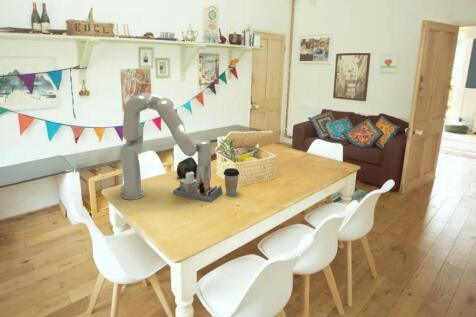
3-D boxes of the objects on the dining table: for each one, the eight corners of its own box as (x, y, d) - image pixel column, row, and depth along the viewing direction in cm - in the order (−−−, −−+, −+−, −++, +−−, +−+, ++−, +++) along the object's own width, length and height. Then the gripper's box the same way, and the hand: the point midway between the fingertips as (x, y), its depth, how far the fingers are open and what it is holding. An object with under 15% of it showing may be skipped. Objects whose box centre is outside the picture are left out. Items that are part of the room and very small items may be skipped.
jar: (197, 194, 189) (197, 180, 186) (202, 191, 194) (202, 177, 191) (206, 196, 187) (206, 182, 184) (210, 193, 192) (210, 179, 189)
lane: (173, 194, 191) (172, 186, 189) (186, 186, 203) (185, 178, 202) (211, 202, 181) (211, 194, 180) (222, 193, 193) (222, 185, 192)
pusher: (206, 200, 184) (206, 192, 182) (215, 193, 194) (215, 185, 192) (208, 200, 184) (208, 192, 182) (216, 193, 193) (217, 185, 192)
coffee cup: (229, 198, 187) (229, 174, 183) (220, 192, 194) (220, 169, 190) (242, 194, 192) (242, 171, 188) (233, 189, 200) (233, 166, 195)
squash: (169, 169, 216) (179, 156, 208) (185, 164, 228) (195, 152, 220) (180, 186, 213) (191, 173, 204) (196, 180, 225) (207, 168, 216)
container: (180, 191, 195) (179, 171, 191) (190, 188, 200) (190, 168, 196) (187, 195, 189) (186, 175, 186) (197, 192, 194) (197, 172, 190)
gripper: (206, 156, 193) (206, 184, 198) (190, 164, 178) (191, 194, 183) (217, 158, 190) (216, 187, 196) (202, 167, 175) (202, 197, 181)
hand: (204, 190), depth 189 cm, fingers closed on jar, 5 cm apart
